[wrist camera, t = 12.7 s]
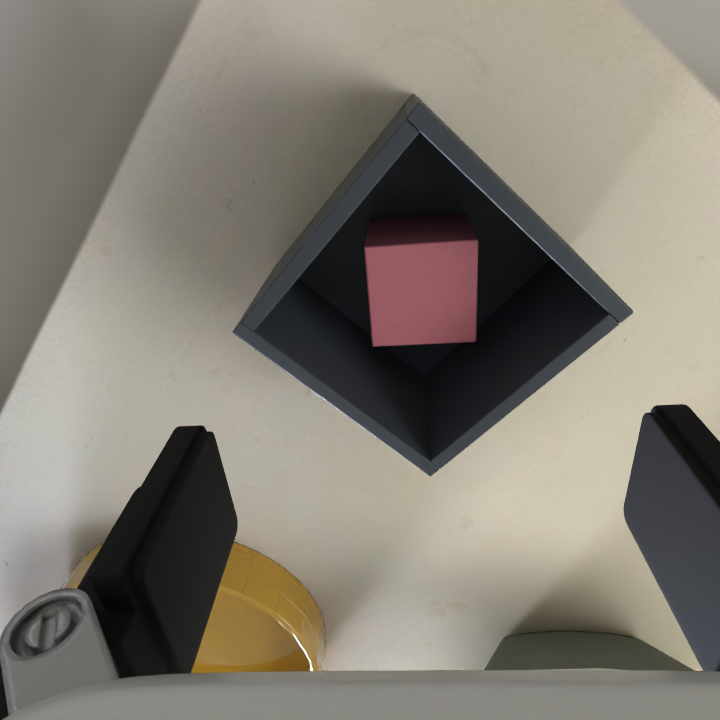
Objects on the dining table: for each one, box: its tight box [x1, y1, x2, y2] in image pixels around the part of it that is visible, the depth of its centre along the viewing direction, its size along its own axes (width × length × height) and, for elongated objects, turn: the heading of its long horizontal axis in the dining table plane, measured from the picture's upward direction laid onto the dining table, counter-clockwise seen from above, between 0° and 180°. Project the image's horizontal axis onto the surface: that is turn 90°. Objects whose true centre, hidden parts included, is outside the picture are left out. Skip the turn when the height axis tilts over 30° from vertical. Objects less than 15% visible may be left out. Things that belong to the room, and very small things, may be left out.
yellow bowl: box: [60, 542, 326, 673], centre depth 39 cm, size 20×20×4 cm
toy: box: [364, 213, 478, 347], centre depth 23 cm, size 4×4×4 cm
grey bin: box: [233, 94, 633, 476], centre depth 22 cm, size 10×10×8 cm
